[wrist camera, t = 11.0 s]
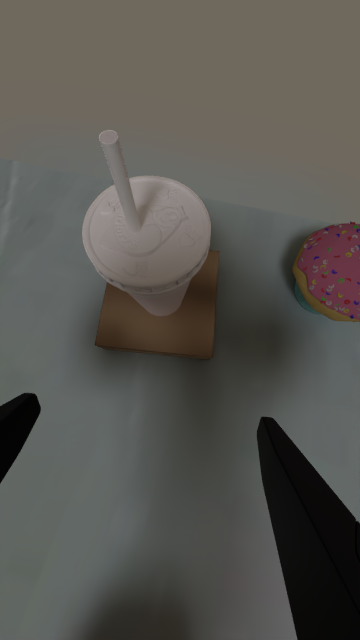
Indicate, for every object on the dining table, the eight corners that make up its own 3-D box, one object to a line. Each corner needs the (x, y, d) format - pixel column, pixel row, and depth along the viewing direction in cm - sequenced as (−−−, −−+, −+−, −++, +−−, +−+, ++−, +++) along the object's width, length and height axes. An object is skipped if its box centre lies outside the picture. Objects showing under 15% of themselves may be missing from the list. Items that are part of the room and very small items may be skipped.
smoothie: (116, 279, 21) (-3, 91, 7) (180, 254, 21) (182, 39, 8) (141, 343, 19) (49, 257, 6) (209, 314, 20) (272, 176, 6)
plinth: (208, 359, 21) (212, 357, 19) (104, 349, 22) (94, 345, 19) (215, 264, 24) (219, 251, 22) (121, 255, 24) (114, 241, 22)
